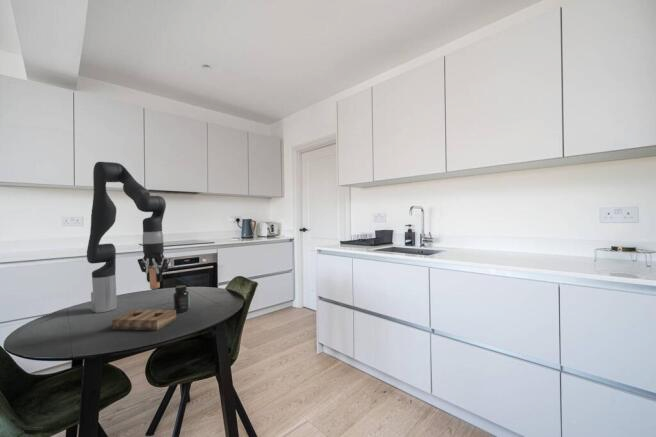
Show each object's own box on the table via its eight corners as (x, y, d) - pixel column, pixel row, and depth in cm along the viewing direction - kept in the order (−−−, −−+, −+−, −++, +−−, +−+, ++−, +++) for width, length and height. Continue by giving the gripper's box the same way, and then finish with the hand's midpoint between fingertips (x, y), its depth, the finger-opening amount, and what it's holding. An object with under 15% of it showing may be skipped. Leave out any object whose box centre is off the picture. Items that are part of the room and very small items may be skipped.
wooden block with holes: (112, 329, 116) (112, 319, 116) (135, 318, 128) (135, 309, 127) (157, 330, 114) (157, 320, 114) (176, 318, 126) (175, 309, 125)
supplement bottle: (192, 308, 139) (191, 284, 139) (184, 313, 132) (183, 288, 132) (179, 308, 140) (178, 284, 139) (170, 313, 133) (169, 288, 133)
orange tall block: (147, 288, 118) (147, 268, 118) (154, 286, 122) (153, 266, 121) (155, 289, 118) (155, 267, 118) (161, 286, 121) (160, 266, 121)
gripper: (130, 243, 116) (132, 284, 117) (162, 242, 115) (164, 284, 115) (144, 241, 124) (146, 279, 124) (174, 240, 122) (175, 279, 123)
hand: (154, 281), depth 120 cm, fingers closed on orange tall block, 3 cm apart
